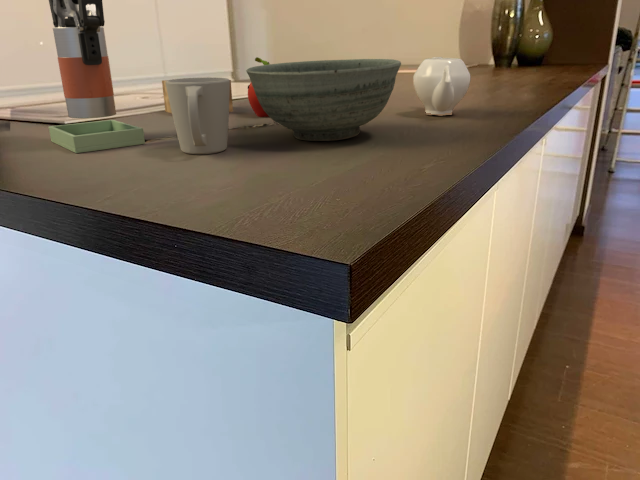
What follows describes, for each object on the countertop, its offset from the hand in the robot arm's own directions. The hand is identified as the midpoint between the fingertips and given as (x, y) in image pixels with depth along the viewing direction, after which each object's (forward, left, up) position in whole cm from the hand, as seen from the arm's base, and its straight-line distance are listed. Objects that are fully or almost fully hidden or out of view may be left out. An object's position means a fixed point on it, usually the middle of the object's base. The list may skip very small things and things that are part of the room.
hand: (84, 63), depth 70 cm
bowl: (+18, +26, -11) cm, 33 cm away
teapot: (+16, +54, -11) cm, 57 cm away
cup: (+16, +8, -11) cm, 21 cm away
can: (0, 0, -7) cm, 7 cm away
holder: (-15, +24, -10) cm, 30 cm away
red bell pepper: (-2, +30, -11) cm, 31 cm away
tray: (0, 0, -10) cm, 10 cm away
